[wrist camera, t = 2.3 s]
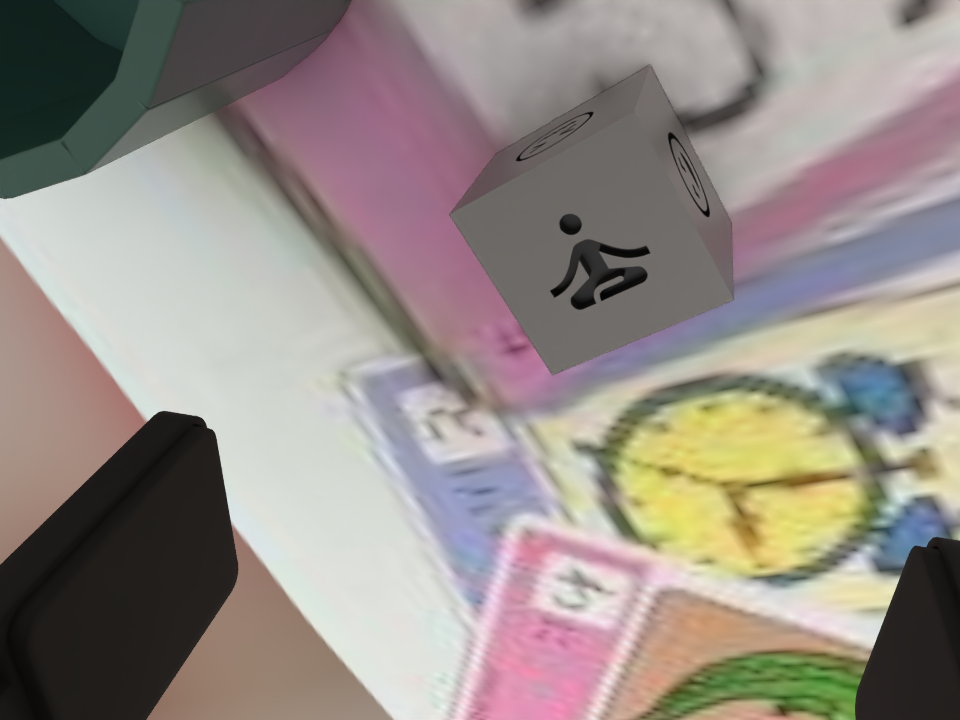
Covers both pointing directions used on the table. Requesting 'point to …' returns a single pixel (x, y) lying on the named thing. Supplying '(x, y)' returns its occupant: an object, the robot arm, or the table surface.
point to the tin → (133, 73)
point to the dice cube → (601, 226)
